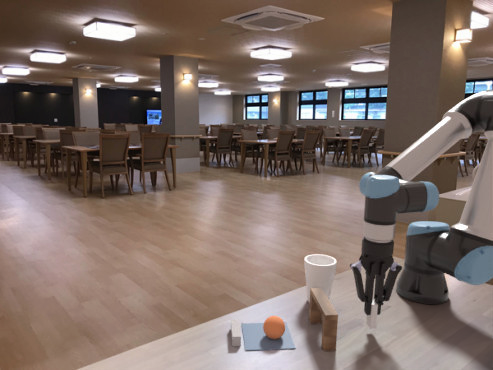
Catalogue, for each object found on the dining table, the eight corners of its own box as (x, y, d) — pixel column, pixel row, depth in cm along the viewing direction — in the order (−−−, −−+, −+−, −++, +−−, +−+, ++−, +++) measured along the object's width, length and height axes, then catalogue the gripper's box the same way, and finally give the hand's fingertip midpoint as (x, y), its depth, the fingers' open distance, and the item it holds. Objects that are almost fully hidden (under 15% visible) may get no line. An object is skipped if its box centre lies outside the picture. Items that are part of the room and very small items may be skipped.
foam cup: (334, 310, 116) (336, 267, 113) (301, 306, 118) (303, 264, 115) (333, 295, 125) (336, 255, 123) (303, 292, 127) (305, 253, 124)
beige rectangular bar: (238, 328, 105) (238, 319, 105) (240, 346, 98) (240, 336, 97) (230, 328, 105) (230, 319, 105) (232, 346, 97) (232, 336, 97)
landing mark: (286, 322, 108) (286, 322, 108) (295, 348, 97) (295, 348, 97) (241, 324, 107) (241, 323, 107) (245, 350, 96) (245, 349, 96)
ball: (257, 321, 103) (270, 335, 104) (260, 333, 98) (275, 347, 99) (273, 307, 103) (286, 321, 104) (277, 318, 98) (292, 333, 99)
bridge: (319, 319, 111) (321, 287, 109) (335, 350, 96) (338, 314, 95) (308, 319, 110) (310, 288, 109) (323, 350, 96) (325, 315, 94)
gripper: (396, 233, 104) (389, 317, 108) (347, 233, 103) (341, 318, 107) (410, 242, 97) (402, 332, 101) (358, 243, 96) (351, 334, 100)
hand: (371, 325), depth 104 cm, fingers closed
